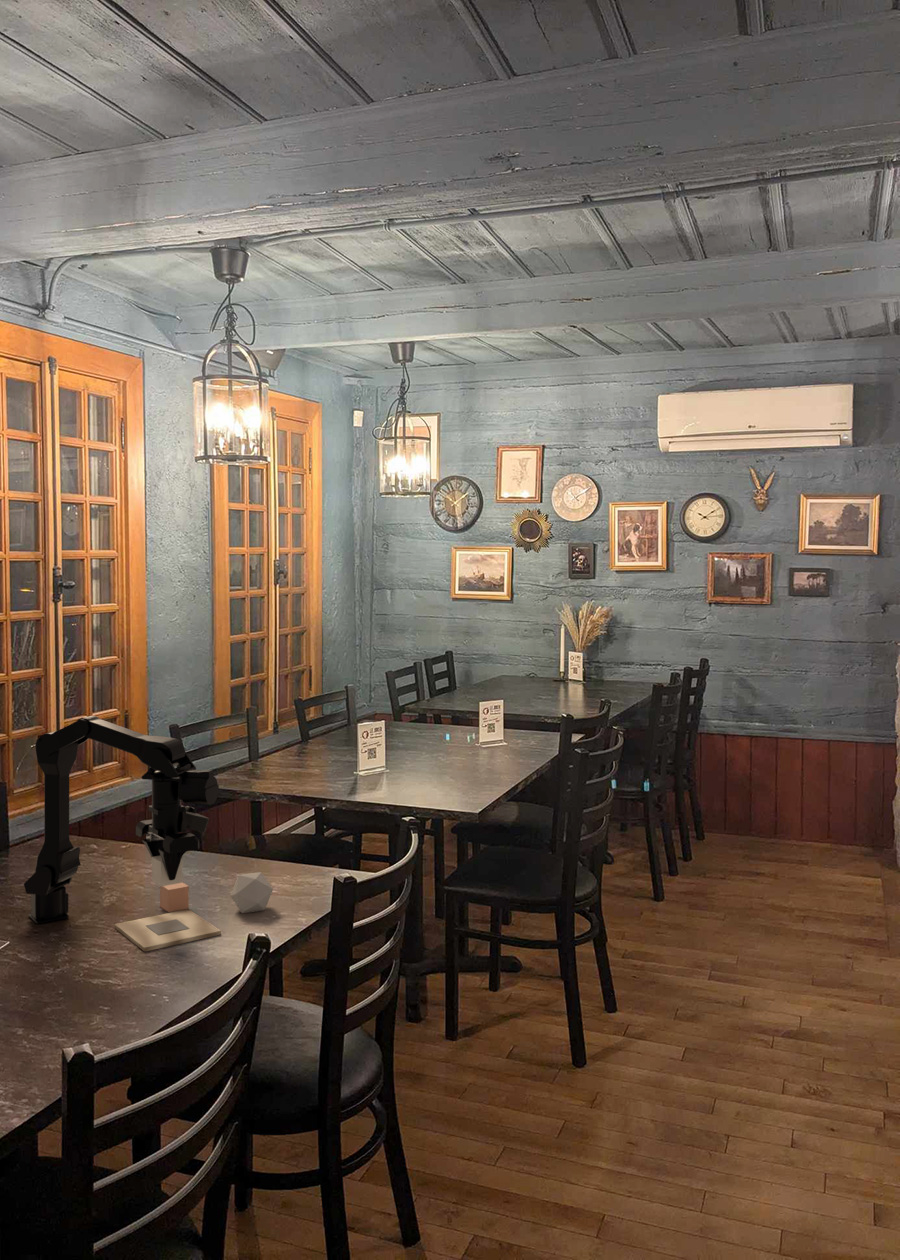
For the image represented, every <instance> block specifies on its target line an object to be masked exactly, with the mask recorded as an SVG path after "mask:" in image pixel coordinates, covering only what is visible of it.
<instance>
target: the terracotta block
mask: <svg viewBox="0 0 900 1260" xmlns="http://www.w3.org/2000/svg"><path fill="white" fill-rule="evenodd" d="M189 888H190V886H189V885H188V884H186V883H185V882H182V883H177V884H172V885H167V886H162V887H161V886H159V906H160V908H161V909H162V910H165V911H166V912H167V913H171V912H176V911H181V910H186V909H189V908H190V906H189V904H190V903H189V901H190V897H189V890H190V889H189Z"/></svg>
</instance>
